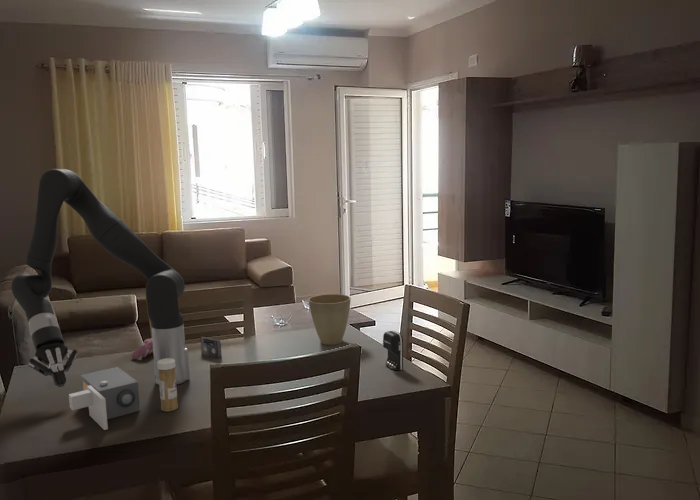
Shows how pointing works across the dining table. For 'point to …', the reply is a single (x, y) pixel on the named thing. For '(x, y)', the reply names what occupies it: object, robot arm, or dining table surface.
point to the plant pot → (330, 316)
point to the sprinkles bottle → (167, 384)
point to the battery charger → (394, 349)
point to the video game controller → (143, 349)
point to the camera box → (114, 390)
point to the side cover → (90, 404)
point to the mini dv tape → (211, 347)
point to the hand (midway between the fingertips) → (61, 385)
